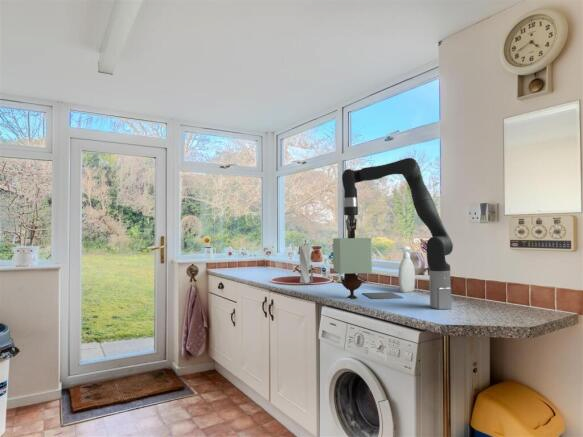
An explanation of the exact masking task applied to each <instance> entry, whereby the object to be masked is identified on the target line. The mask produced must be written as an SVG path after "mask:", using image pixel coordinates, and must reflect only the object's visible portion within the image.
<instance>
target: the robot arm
mask: <svg viewBox="0 0 583 437" xmlns="http://www.w3.org/2000/svg"><path fill="white" fill-rule="evenodd" d="M391 175H402V176H403V178H404V179H405V180H406V181H405V182H406V183H407V185H408V187H409V190H410V193H411V199H412V203H413V206H414V207H413V208H414V209H415V212H416V215H417V216H418V217H419V219H420V220H421V221H422V222H423V224H424V225H425V226H426V227H427V228H428V230H429V232H430V234H431V237H430V238H429V239H428V240H427V242H426V246H425V247H426V262H427V266H428V268H429V270H428V271H429V273H428V274H429V276H428V277H429V278H428V279H429V307H430V308H433V309H437V310H451V309H453V306H452V302H453V301H452V288H451V287H452V286H451V265H450V264H449V263H448V262H447V261H446V256H448V255H450V254H451V253H452V252H453V249H454V244H453V241H452V239H451V238H450V236H449V235H450V234H449V233H448V231H447V230H446V227H445V226H444V223H443V222H442V219H441V216H440V214H439V212H438V210H437V207H436V204H435V202H434V200H433V197H432V195H431V193H430V191H429V189H428V188H427V186H426V184H425V182H424V179H423V176H422V172H421V167H420V165H419V163H418V162H417V160H415V159H414V158H412V157H407V158H403V159H400V160H396V161H392V162H389V163H386V164H379V165H375V166H373V165H372V166H369V167H362V168H360V169H357V170H355V169H354V170H353V169H351V168H347V169H345V170H344V171H343V173H342V177H341V182H342V187H343V196H344V197H343V215H344V216H347V218H346V220H345V227H346V230H347V231H348V229H350V238H356V230H357V220H358V219H357V218H356V216H357V215H359V203H358V202H359V201H358V189H357V187H356V184H358V183H360V182H364V181H365V182H367V181H375V180H379V179H382V178H384V177H388V176H391Z"/></svg>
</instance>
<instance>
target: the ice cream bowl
mask: <svg viewBox="0 0 583 437" xmlns="http://www.w3.org/2000/svg"><path fill="white" fill-rule="evenodd" d="M343 276H344V278H343V279H342V280H340V281H341V284H342V286H343V287H344V288H345V289H346V290H348V291H349V293H350V295H348V296H346V298H347V299H348V298H350V299H349V300H357V299H358V296H356V295H355V294H354V293H355V291H357V290H358V289H360V288H361V286H362V283H363V280H362V279H359V276H358V275H357V273H346V274H343ZM356 298H357V299H356Z"/></svg>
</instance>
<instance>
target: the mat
mask: <svg viewBox="0 0 583 437" xmlns="http://www.w3.org/2000/svg"><path fill="white" fill-rule="evenodd" d="M361 294H362V295H363V296H364V297H367V298H369V299H371V300H386V299H387V300H389V299H393V300H395V299H404V296H401V295H398V294H396V293H394V292H390V291H389V292H388V291H385V292H383V291H382V292H361Z"/></svg>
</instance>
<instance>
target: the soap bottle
mask: <svg viewBox="0 0 583 437" xmlns="http://www.w3.org/2000/svg"><path fill="white" fill-rule="evenodd" d="M398 249H399V250H405V252H403V255H402V260H401V261H400V264H399V268H398V277H397V278H398V287H399V291H400V292H401V293H403V294H404V293H405V294H407V293H408V294H409V293H412V292H413V291H414V289H415V285H416V271H415V266H414V263H413V261H412V259H411V257H410V253H409V252H408V250H411V249H412V248H411V246H409V245H405V246H403V247H398Z"/></svg>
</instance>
